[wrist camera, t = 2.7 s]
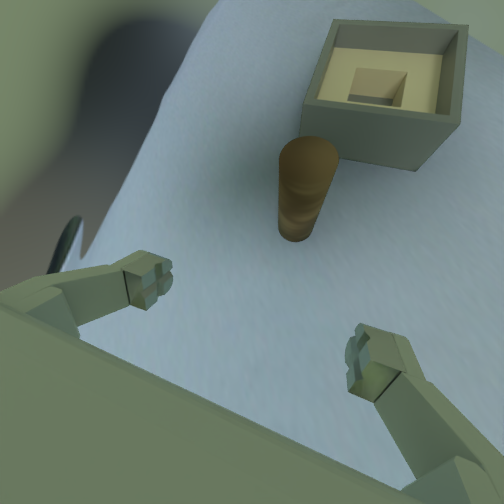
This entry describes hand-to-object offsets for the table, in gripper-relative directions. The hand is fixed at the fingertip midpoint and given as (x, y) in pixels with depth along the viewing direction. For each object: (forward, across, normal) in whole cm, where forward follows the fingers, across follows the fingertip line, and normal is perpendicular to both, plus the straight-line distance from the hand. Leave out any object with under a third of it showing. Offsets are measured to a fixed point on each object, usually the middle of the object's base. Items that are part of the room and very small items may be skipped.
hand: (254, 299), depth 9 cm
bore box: (+34, -5, -11) cm, 36 cm away
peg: (+19, 0, +3) cm, 20 cm away
